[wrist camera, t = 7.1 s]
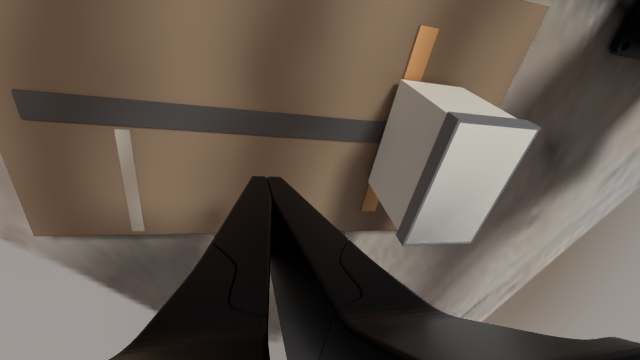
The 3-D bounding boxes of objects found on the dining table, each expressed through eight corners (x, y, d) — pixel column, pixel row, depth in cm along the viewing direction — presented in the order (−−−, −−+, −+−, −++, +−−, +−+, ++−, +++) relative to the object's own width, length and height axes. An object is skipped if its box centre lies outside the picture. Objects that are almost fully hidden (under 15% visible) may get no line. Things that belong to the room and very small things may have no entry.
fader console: (514, 1, 14) (551, 7, 13) (421, 208, 21) (437, 230, 19) (-59, -137, 9) (-129, -158, 7) (55, 206, 15) (32, 238, 13)
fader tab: (465, 85, 14) (541, 127, 10) (422, 185, 16) (471, 243, 13) (399, 76, 13) (458, 119, 9) (365, 183, 15) (402, 246, 12)
